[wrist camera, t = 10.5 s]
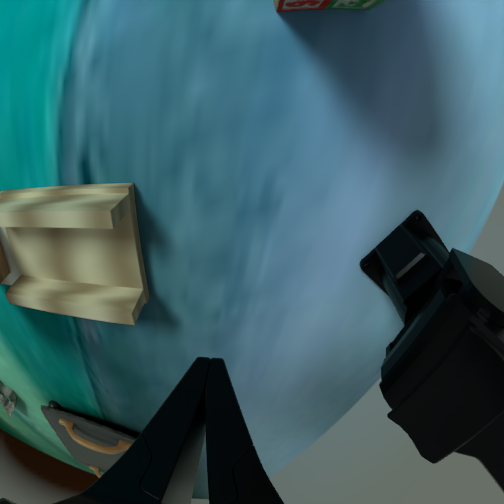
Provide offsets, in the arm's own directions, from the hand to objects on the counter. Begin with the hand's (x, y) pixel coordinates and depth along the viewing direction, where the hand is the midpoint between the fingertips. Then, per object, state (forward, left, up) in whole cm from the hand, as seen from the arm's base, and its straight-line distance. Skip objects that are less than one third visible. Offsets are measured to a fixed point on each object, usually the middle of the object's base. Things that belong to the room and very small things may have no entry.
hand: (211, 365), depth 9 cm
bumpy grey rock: (+14, +61, -14) cm, 65 cm away
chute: (+12, +13, -13) cm, 22 cm away
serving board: (-12, +58, -14) cm, 60 cm away
